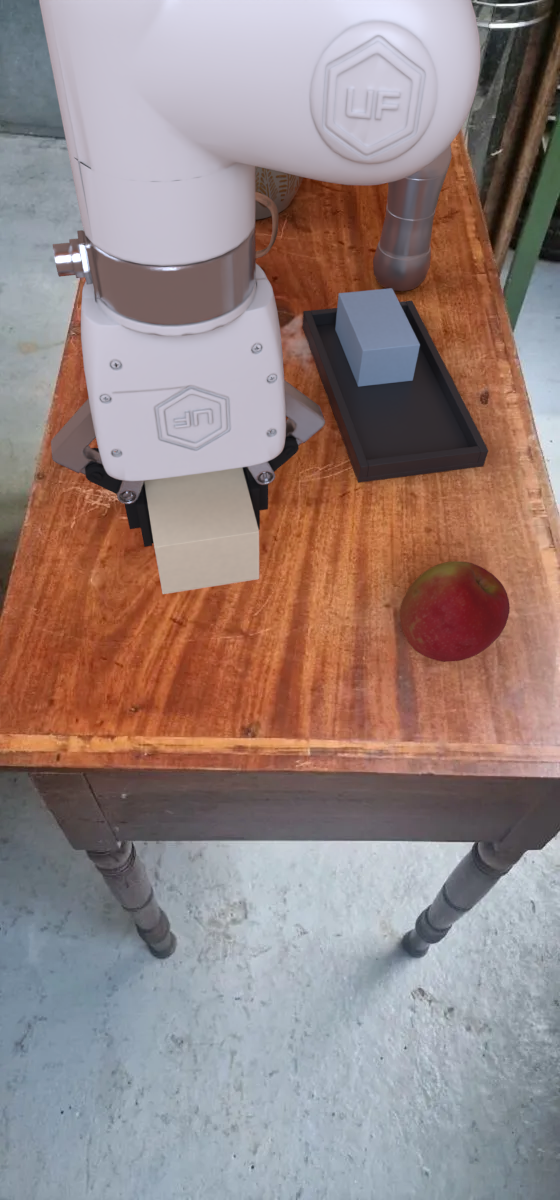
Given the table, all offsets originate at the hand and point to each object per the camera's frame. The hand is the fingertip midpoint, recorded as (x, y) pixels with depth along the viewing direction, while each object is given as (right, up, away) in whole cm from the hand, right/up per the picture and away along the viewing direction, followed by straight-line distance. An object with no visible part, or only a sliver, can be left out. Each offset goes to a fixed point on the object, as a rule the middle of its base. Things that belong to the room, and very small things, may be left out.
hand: (198, 520), depth 50 cm
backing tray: (+16, +17, +31) cm, 39 cm away
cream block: (0, 0, +1) cm, 1 cm away
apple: (+19, -8, +14) cm, 25 cm away
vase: (0, +49, +54) cm, 73 cm away
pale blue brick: (+15, +21, +34) cm, 43 cm away
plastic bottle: (+19, +33, +43) cm, 58 cm away
